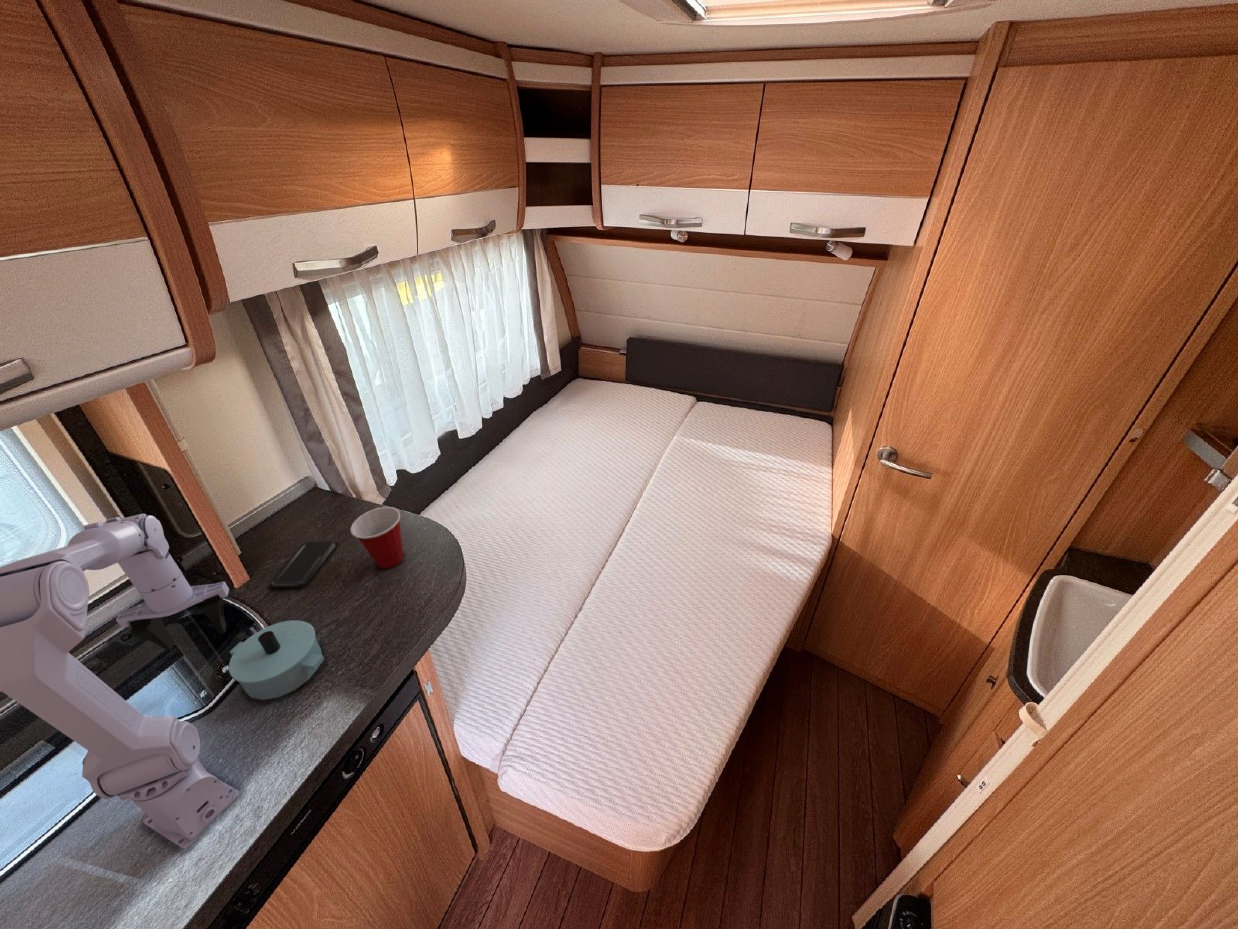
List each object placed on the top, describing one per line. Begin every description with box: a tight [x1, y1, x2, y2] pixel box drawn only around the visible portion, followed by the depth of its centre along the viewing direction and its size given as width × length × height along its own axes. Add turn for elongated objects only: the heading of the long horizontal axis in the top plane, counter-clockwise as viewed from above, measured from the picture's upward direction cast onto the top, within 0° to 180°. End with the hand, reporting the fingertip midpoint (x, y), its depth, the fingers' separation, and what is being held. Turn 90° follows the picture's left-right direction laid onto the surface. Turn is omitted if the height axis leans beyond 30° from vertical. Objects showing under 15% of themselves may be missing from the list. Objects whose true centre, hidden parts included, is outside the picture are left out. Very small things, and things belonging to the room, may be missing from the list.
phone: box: [270, 540, 336, 589], centre depth 121 cm, size 8×1×15 cm
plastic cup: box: [350, 506, 404, 569], centre depth 118 cm, size 11×11×12 cm
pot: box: [229, 637, 325, 701], centre depth 94 cm, size 13×18×5 cm
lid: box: [228, 619, 317, 684], centre depth 92 cm, size 14×14×4 cm
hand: (197, 638), depth 89 cm, fingers open, 7 cm apart
